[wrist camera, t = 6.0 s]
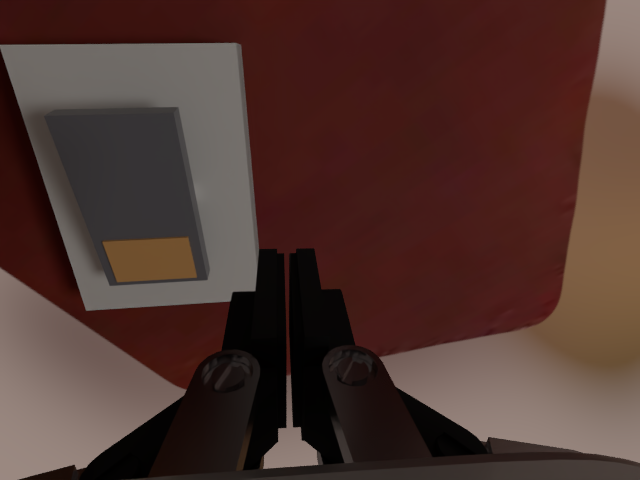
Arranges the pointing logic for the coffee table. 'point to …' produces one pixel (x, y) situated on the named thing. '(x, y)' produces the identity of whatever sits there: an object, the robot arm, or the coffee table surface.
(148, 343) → the coffee table surface
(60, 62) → the switch box
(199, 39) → the coffee table surface
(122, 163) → the rocker switch
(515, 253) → the coffee table surface
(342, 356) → the robot arm
